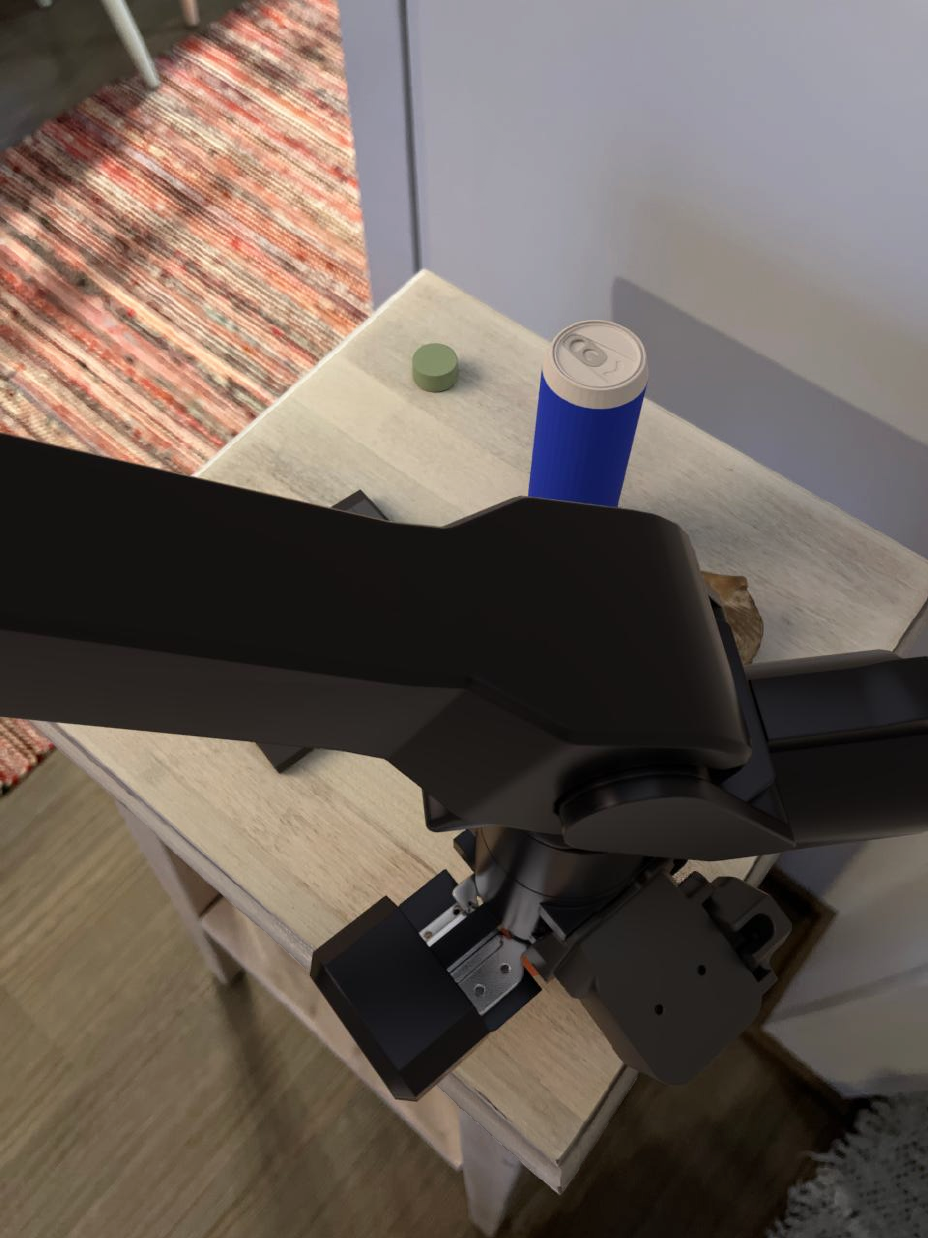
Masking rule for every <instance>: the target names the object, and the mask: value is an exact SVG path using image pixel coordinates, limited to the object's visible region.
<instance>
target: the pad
mask: <svg viewBox="0 0 928 1238" xmlns="http://www.w3.org/2000/svg"><path fill="white" fill-rule="evenodd" d="M458 360H459V359H458V355H457V353H456V352H455V350H454V349H453V348H451V347H450V346H448V345H446V344H443V343H438V342H437V343H436V342H432V343H427V344H424V345H421V346H420V347H418V348H417V349H416V350H415V352H414V353H413V354H412V358H411V363H412V364H411V365H412V366H411V367H412V378H413V381H414V383H415V385H416V386H417V387H419V388H421V389H422V390H425V391H426V392H432V393H435V392H436V393H438V392H439V393H440V392H443V391H446V390H448V389H450V388H451V387H453V386H454V385H455V384H456V382H457V380H458V375H459V374H458V372H459V371H458V368H459V366H458V365H459V361H458Z"/></svg>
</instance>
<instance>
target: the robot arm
mask: <svg viewBox="0 0 928 1238" xmlns="http://www.w3.org/2000/svg"><path fill="white" fill-rule="evenodd" d="M330 507H331V506H325V505H321V504H316V503H313V502H308V501H305V500H298V499H294V498H289V497H287V496H286V497H285V496H281V495H277V494H273V493H268V492H263V491H259V490H256V489H251V488H246V487H243V486H238V485H233V484H229V483H225V482H222V481H221V482H220V481H217V480H212V479H209V478H208V479H207V478H203V477H200V476H194V475H189V474H185V473H182V472H176V471H173V470H168V469H164V468H159V467H155V466H150V465H146V464H142V463H138V462H133V461H128V460H125V459H121V458H115V457H111V456H107V455H102V454H98V453H95V452H94V453H93V452H89V451H85V450H80V449H77V448H72V447H68V446H64V445H59V444H55V443H50V442H46V441H41V440H37V439H33V438H28V437H24V436H19V435H16V434H12V433H7V432H3V431H0V718H6V719H16V720H25V721H26V720H28V721H37V722H45V723H55V724H67V725H77V726H86V727H97V728H106V729H117V730H127V731H137V732H147V733H157V734H168V735H177V736H189V737H197V738H207V739H208V738H209V739H218V740H228V741H229V740H230V741H238V742H248V743H255V742H257V743H267V744H277V745H287V746H297V747H307V748H315V749H318V750H328V751H337V752H344V753H350V754H355V755H359V756H365V757H370V758H376V759H380V760H383V761H385V762H388V764H390V765H391V766H392V767H394V768H395V769H396V770H398V771H399V772H400V773H401V774H403V775H404V776H405V777H406V778H408V779H409V780H410V781H411V782H413V783H414V784H415V785H416V786H418V787H419V788H420V789H421V796H422V797H421V798H422V805H423V814H424V820H425V821H424V823H425V827H426V829H427V830H428V831H430V832H431V833H446V832H455V831H462V830H463V831H462V832H460V833H459V834H458V835H457V836H455V837H454V838H453V839H452V848H453V849H454V850H455V851H456V853H457V854H458V855H459V856H460V857H461V859H462V860H463V861H464V862H465V864H466V865H467V866H468V868H469V869H470V870H471V871H472V872H473V873H471V874H470V875H469V876H467V877H466V878H465V879H464V880H462V881H461V882H460V883H458V881H457V880H456V879H455V878H454V877H453V876H452V874H451V873H450V872H449V870H448V869H446V868H444V869H443V870H440V872H438V874H436V875H435V876H433V877H432V878H431V879H429V881H427V882H426V883H425V884H423V885H422V886H421V887H419V888H418V889H417V890H416V891H415V892H413V893H412V894H411V895H410V896H407V898H406V899H405V900H403V901H402V902H400V904H399V905H397V903H395V902H394V901H393V900H392V899H391V898H390V897H389V896H388V895H386V894H385V895H384V896H382V897H381V898H380V899H379V900H377V901H376V902H375V903H374V904H372V905H371V906H370V907H369V908H367V909H366V910H365V911H363V912H362V913H361V914H360V915H359V916H357V917H356V918H355V919H353V920H351V922H349V923H348V924H347V925H346V926H344V927H343V928H342V929H340V930H339V931H338V932H336V933H335V934H333V936H331V937H330V938H329V939H327V940H326V941H325V942H324V943H322V944H321V945H320V946H318V947H317V948H316V949H314V951H312V956H311V963H310V970H309V977H310V978H311V980H312V982H313V984H314V985H315V987H316V988H317V989H318V991H319V993H320V994H321V995H322V996H323V998H324V999H325V1001H326V1002H327V1003H328V1006H329V1007H330V1008H331V1009H332V1011H333V1012H334V1014H335V1015H336V1017H337V1018H338V1020H339V1021H340V1022H341V1024H342V1026H343V1027H344V1029H346V1031H347V1032H348V1034H349V1035H350V1037H351V1038H352V1040H353V1041H354V1042H355V1044H356V1045H357V1046H358V1048H359V1050H360V1051H361V1053H362V1054H363V1055H364V1057H365V1058H366V1059H367V1060H368V1062H369V1064H370V1066H371V1068H373V1070H374V1072H375V1073H376V1074H377V1075H378V1077H379V1078H380V1080H381V1081H382V1083H383V1084H384V1085H385V1087H386V1088H387V1090H388V1091H389V1093H390V1094H391V1096H392V1097H393V1098H394V1100H398V1101H406V1102H415V1103H418V1102H419V1101H420V1100H421V1099H422V1098H424V1097H425V1096H426V1095H427V1094H428V1093H429V1092H430V1091H431V1090H433V1089H434V1088H435V1087H436V1086H437V1085H438V1084H439V1083H441V1082H442V1081H443V1080H444V1079H445V1078H447V1076H448V1075H450V1074H451V1073H452V1072H453V1071H454V1070H456V1069H457V1068H458V1067H459V1066H460V1065H461V1064H462V1063H464V1062H465V1061H466V1060H467V1059H468V1058H469V1057H471V1056H472V1055H473V1054H474V1052H476V1051H477V1049H478V1048H480V1046H481V1045H483V1043H484V1042H485V1041H487V1040H488V1038H489V1037H490V1036H491V1033H494V1032H496V1031H497V1030H499V1029H500V1028H501V1027H503V1025H505V1024H506V1023H507V1022H508V1021H509V1020H511V1018H513V1016H515V1015H516V1014H517V1013H518V1012H519V1011H521V1010H522V1009H523V1008H524V1007H525V1006H526V1005H528V1003H530V1002H531V1001H532V1000H533V999H535V998H536V996H538V995H539V994H540V993H541V992H542V991H543V987H541V985H540V984H539V983H538V981H537V980H536V979H535V978H534V976H533V975H531V974H530V973H529V972H528V970H527V969H526V968H525V967H524V965H523V963H522V957H523V955H525V957H526V958H527V960H528V961H529V962H530V963H531V965H532V966H533V967H534V968H535V970H536V971H537V972H538V973H539V975H538V976H540V977H541V979H542V980H543V981H544V982H545V983H546V984H549V983H550V982H551V981H552V980H553V979H556V980H557V981H558V983H559V984H560V985H561V987H562V988H563V989H564V990H565V991H566V993H567V994H568V995H569V996H570V998H572V999H574V1000H575V999H576V1000H577V999H578V1001H579V1002H580V1003H581V1005H582V1006H583V1007H584V1009H585V1010H586V1012H587V1014H589V1016H590V1017H591V1019H592V1020H593V1022H594V1023H595V1024H596V1026H597V1027H598V1028H599V1030H600V1032H601V1033H602V1034H603V1036H604V1037H605V1038H606V1040H607V1041H608V1042H609V1044H610V1046H611V1048H612V1050H613V1052H614V1053H615V1054H616V1056H617V1057H618V1059H619V1060H620V1062H622V1063H623V1064H625V1065H626V1066H627V1067H629V1068H630V1069H632V1070H635V1071H637V1072H639V1073H642V1074H643V1075H646V1076H648V1077H650V1078H652V1079H654V1080H656V1081H658V1082H661V1083H663V1084H665V1085H667V1086H670V1087H681V1086H685V1085H687V1084H689V1083H691V1082H692V1081H693V1080H695V1078H697V1077H698V1076H699V1075H700V1073H702V1072H703V1071H704V1070H705V1069H706V1068H707V1067H708V1066H709V1065H710V1064H711V1063H712V1062H713V1061H714V1060H715V1059H716V1058H717V1057H718V1056H719V1055H720V1054H721V1053H722V1052H723V1051H724V1050H725V1049H726V1048H727V1047H729V1046H730V1044H732V1042H733V1041H734V1040H736V1038H738V1037H739V1036H740V1035H741V1033H742V1032H744V1031H745V1030H746V1029H747V1028H748V1027H749V1026H750V1025H751V1024H752V1022H754V1021H755V1020H756V1018H757V1016H758V1014H759V1013H760V1010H761V1006H762V997H763V995H765V993H767V991H768V990H769V989H770V988H771V987H772V986H773V985H774V984H776V983H777V981H779V978H778V976H777V975H776V974H775V971H774V970H773V968H772V966H771V964H770V961H771V960H770V959H771V958H772V955H773V954H774V953H775V952H776V951H777V950H778V949H779V948H780V947H781V946H782V945H783V944H784V943H785V942H786V940H787V938H788V937H789V935H790V933H791V932H792V930H793V923H792V922H791V920H790V919H789V918H788V916H787V915H786V913H785V912H784V910H783V909H782V908H781V907H780V906H779V904H778V902H777V901H776V900H775V899H774V896H772V895H771V894H769V893H767V892H766V891H764V890H762V889H760V888H758V887H756V886H754V885H752V884H751V883H748V882H746V881H744V880H742V879H741V878H738V877H736V876H731V875H728V876H726V875H723V876H720V875H719V876H716V877H715V878H714V879H713V880H712V881H711V882H710V881H709V880H708V879H707V878H706V877H705V876H704V875H703V874H702V873H701V872H699V871H697V870H693V871H692V872H691V873H690V874H688V875H687V877H685V878H684V879H683V880H682V881H680V882H678V881H677V880H676V879H675V878H674V876H675V875H676V874H677V873H678V872H680V870H682V869H683V868H684V867H685V866H686V865H687V864H688V861H699V862H721V861H727V860H737V859H744V858H745V859H746V858H752V857H753V858H754V857H761V856H767V855H774V854H776V855H777V854H780V853H785V852H788V851H789V852H790V851H796V850H804V849H812V848H820V847H827V846H835V845H844V844H851V843H859V842H868V841H875V840H882V839H891V838H899V837H905V836H914V835H921V834H924V833H926V832H928V655H921V656H914V657H904V658H903V657H902V656H900V655H899V654H897V653H895V652H893V651H892V650H888V649H880V648H877V649H869V650H860V651H851V652H850V651H849V652H841V653H833V654H824V655H815V656H806V657H798V658H789V659H779V660H771V661H763V662H752V664H742V661H741V658H740V654H739V651H738V648H737V645H736V642H735V638H734V635H733V632H732V629H731V626H730V624H729V623H728V621H727V618H726V615H725V611H724V608H723V605H722V601H721V598H720V595H719V594H718V593H717V592H716V591H715V590H714V589H712V588H711V587H710V586H709V585H708V584H707V583H706V582H705V581H704V580H703V577H702V573H701V570H702V569H701V567H700V564H699V560H698V557H697V553H696V550H695V549H694V547H693V545H692V542H691V538H690V535H689V534H688V533H687V532H686V531H685V530H684V529H683V528H682V527H681V526H680V525H679V524H677V523H676V522H674V521H671V520H670V519H667V518H665V517H663V516H661V515H660V514H659V515H658V514H655V513H651V512H647V511H642V510H637V509H633V508H627V507H619V506H618V507H611V506H603V505H595V504H587V503H579V502H571V501H563V500H555V499H547V498H539V497H531V496H528V495H518V496H513V497H511V498H508V499H506V500H503V501H500V502H498V503H497V504H494V505H492V506H488V507H487V508H484V509H481V510H480V511H477V512H474V513H471V514H469V515H467V516H464V517H462V518H459V519H457V520H455V521H452V522H450V523H448V524H445V525H441V526H440V525H439V526H438V525H430V524H422V523H421V524H420V523H411V522H401V521H394V520H393V521H392V520H390V521H388V520H382V519H378V518H373V517H369V516H365V515H360V514H356V513H352V512H347V511H343V510H338V509H334V508H330ZM478 898H480V900H481V901H482V903H481V904H479V900H478ZM504 928H505V929H506V930H507V931H509V935H510V937H511V939H509V938H507V937H506V936H504V935H503V934H502V933H501V931H502V930H503V929H504Z"/></svg>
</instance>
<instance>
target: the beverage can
mask: <svg viewBox="0 0 928 1238" xmlns="http://www.w3.org/2000/svg"><path fill="white" fill-rule="evenodd" d="M544 353H545V354H544V356H543V357H542V363H541V369H540V370H541V372H540V379H539V380H540V381H539V390H538V397H537V398H538V399H537V407H536V408H537V409H536V418H535V427H534V435H533V443H532V445H533V446H532V454H531V463H530V472H529V480H528V481H529V482H528V490H527V496H531V497H539V498H547V499H555V500H563V501H571V502H579V503H587V504H595V505H603V506H611V507H619V503H620V499H621V494H622V490H623V487H624V483H625V478H626V474H627V469H628V466H629V462H630V458H631V453H632V449H633V445H634V440H635V435H636V432H637V428H638V424H639V420H640V416H641V412H642V407H643V403H644V399H645V396H646V390H647V388H648V387H647V386H648V382H649V378H650V377H649V376H650V369H649V362H648V357H647V353H646V348H645V345H644V344H643V342H642V340H641V339H640V338H639V337H638V336H637V334H635V333H634V332H633V330H630V329H629V328H627V327H625V326H624V325H621V324H618V323H617V322H614V321H609V320H602V319H589V320H582V321H578V322H575V323H572V324H570V325H568V326H566V327H565V328H563V329H562V330H560V331H559V332H558V333H557V334H556V335H555V337H554V338H553V340H552V341H551V343H550V344H549V346H548V348H547V349H546V352H544Z"/></svg>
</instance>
